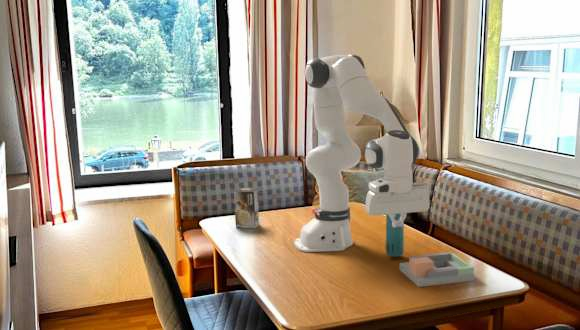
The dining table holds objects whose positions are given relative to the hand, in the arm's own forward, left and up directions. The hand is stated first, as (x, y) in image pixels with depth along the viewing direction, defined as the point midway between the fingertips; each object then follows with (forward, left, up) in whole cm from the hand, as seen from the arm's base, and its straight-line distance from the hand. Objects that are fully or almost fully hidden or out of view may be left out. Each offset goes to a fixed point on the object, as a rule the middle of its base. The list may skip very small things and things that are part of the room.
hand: (397, 226), depth 185 cm
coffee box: (-37, +75, -19) cm, 86 cm away
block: (+8, 0, -16) cm, 19 cm away
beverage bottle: (+8, +22, -19) cm, 30 cm away
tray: (+15, +3, -19) cm, 24 cm away
